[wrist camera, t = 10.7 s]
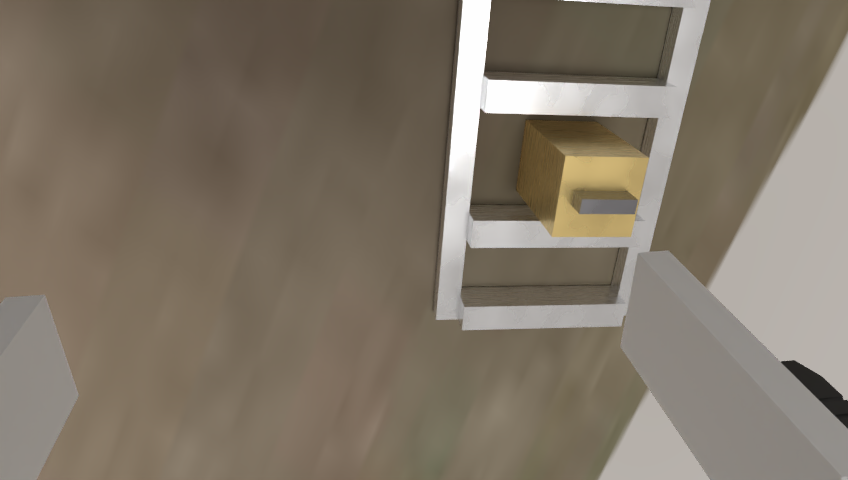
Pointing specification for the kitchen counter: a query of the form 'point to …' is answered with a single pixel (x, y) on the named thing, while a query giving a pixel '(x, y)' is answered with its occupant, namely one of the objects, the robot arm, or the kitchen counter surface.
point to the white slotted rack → (518, 222)
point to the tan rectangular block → (580, 178)
